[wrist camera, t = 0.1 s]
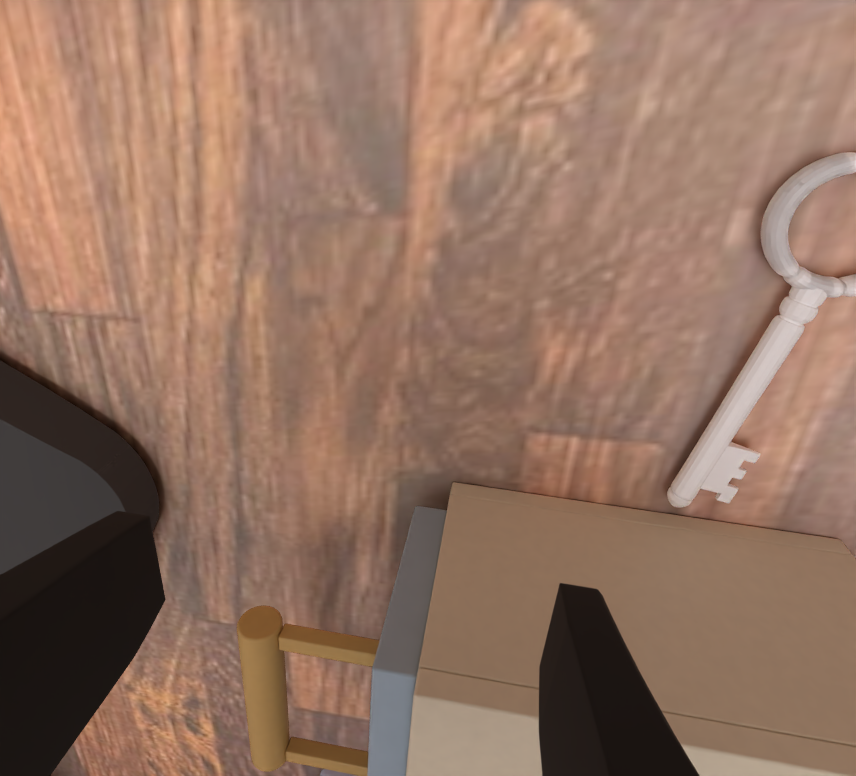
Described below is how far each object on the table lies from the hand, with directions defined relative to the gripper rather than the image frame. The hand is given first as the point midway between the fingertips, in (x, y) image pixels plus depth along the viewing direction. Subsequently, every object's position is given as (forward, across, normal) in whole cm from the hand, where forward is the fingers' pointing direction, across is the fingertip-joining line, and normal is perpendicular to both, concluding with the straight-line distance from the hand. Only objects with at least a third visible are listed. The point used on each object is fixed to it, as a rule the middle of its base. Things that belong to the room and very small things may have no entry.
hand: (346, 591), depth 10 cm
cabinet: (+10, -8, +11) cm, 17 cm away
